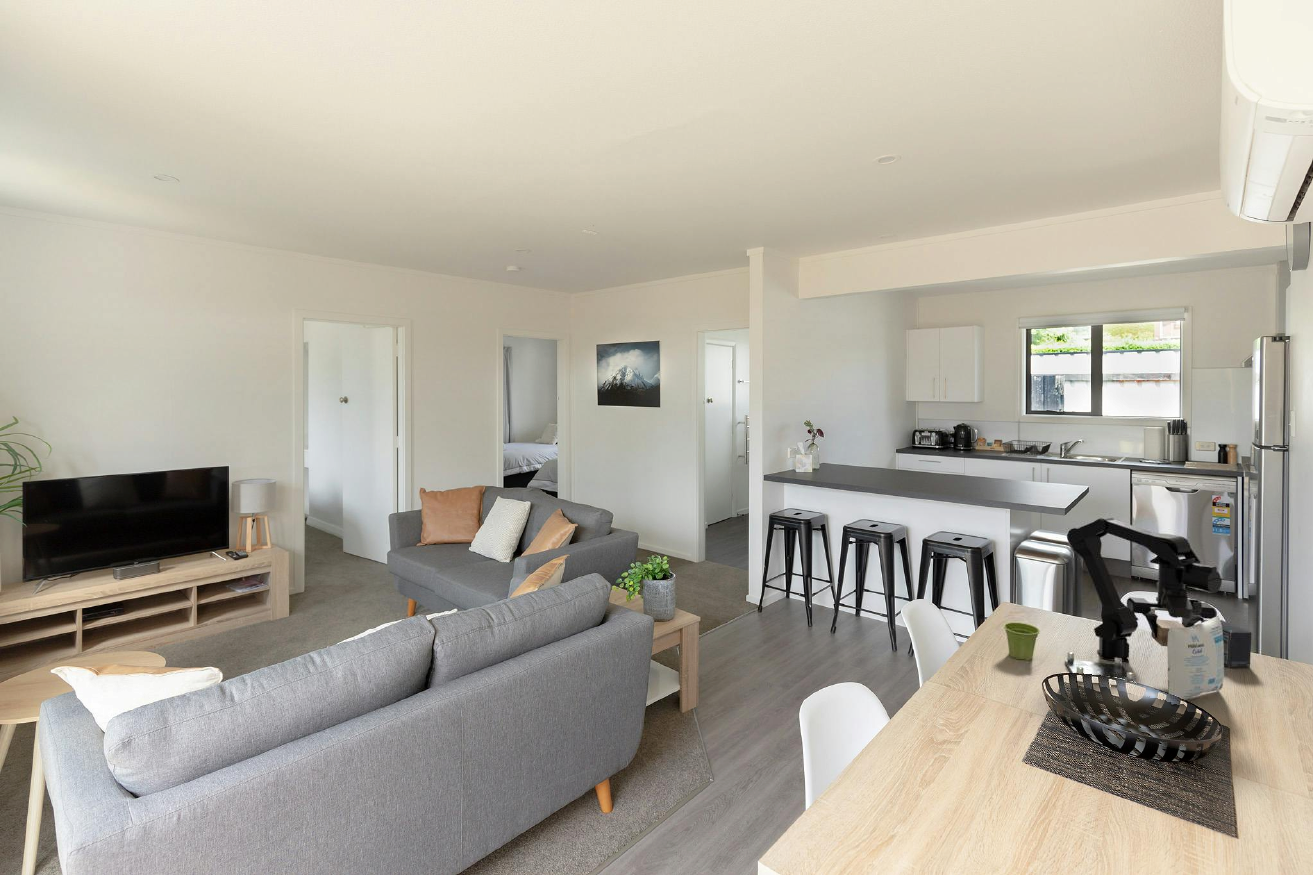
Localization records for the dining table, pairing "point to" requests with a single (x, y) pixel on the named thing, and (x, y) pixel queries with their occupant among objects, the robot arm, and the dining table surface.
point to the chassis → (1098, 668)
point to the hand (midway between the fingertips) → (1169, 638)
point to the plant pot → (1021, 639)
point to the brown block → (1165, 630)
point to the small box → (1236, 646)
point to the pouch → (1195, 659)
